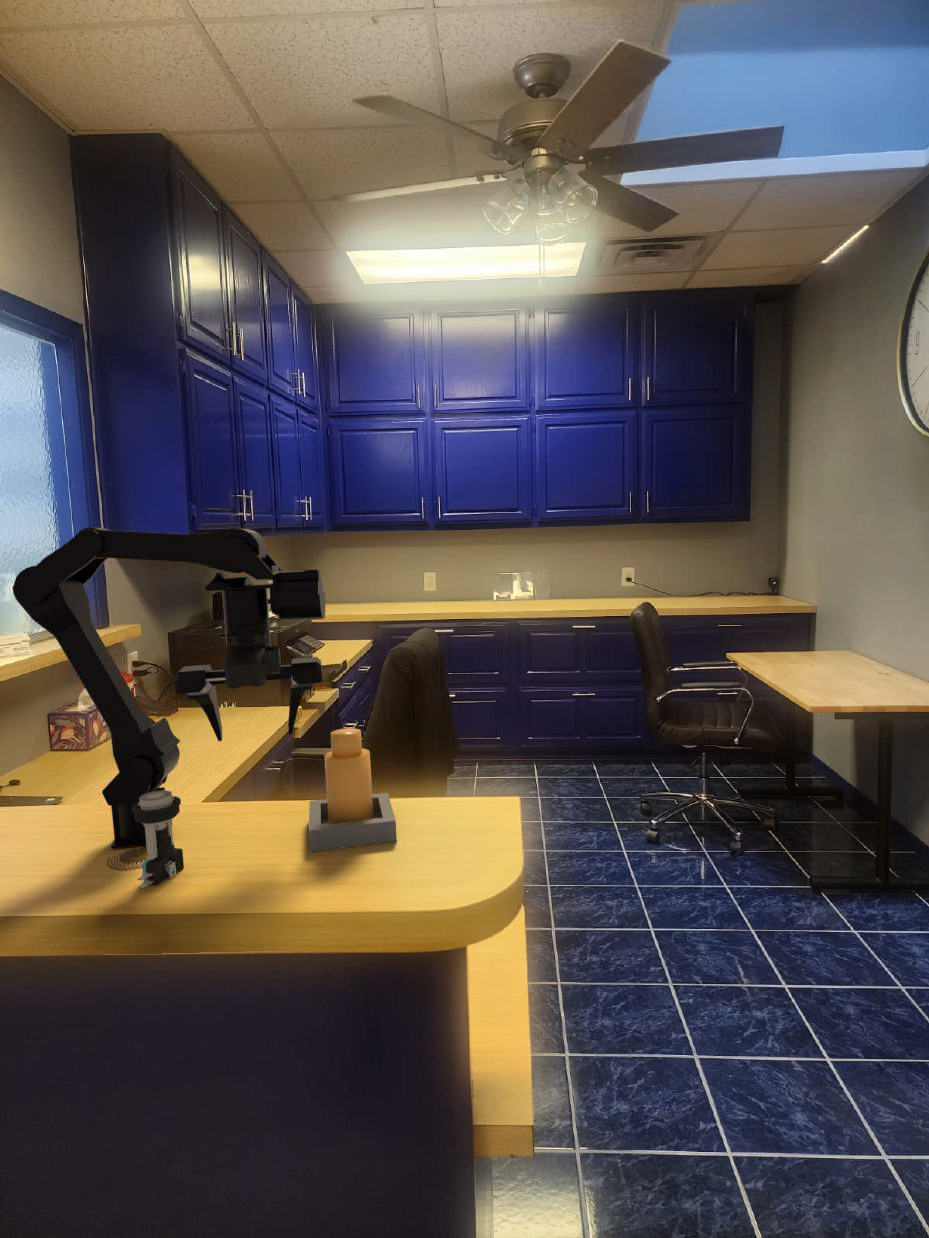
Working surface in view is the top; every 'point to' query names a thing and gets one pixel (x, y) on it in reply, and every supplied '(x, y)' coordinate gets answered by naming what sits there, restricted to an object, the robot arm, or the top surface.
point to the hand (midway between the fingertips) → (255, 737)
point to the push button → (159, 836)
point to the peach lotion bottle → (348, 778)
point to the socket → (351, 826)
